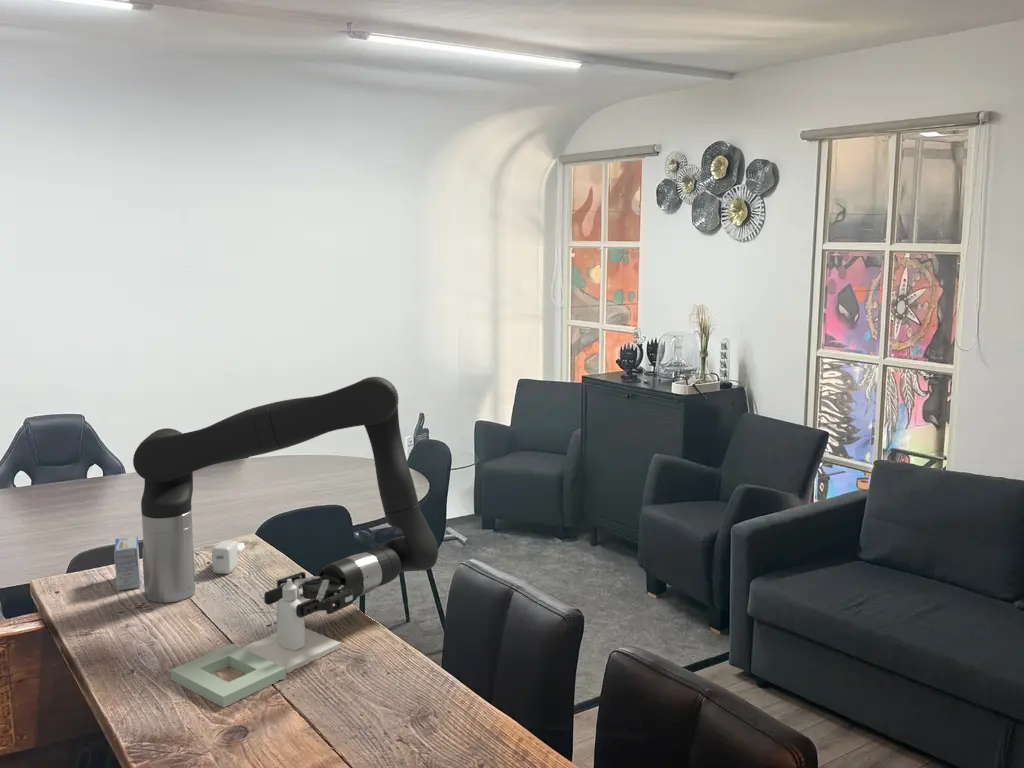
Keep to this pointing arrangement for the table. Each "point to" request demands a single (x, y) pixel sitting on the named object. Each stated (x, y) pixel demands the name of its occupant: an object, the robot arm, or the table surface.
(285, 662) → the tile
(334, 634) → the table surface
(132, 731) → the table surface
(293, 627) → the eye dropper bottle
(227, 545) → the power adapter
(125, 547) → the medicine box
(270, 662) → the holder
